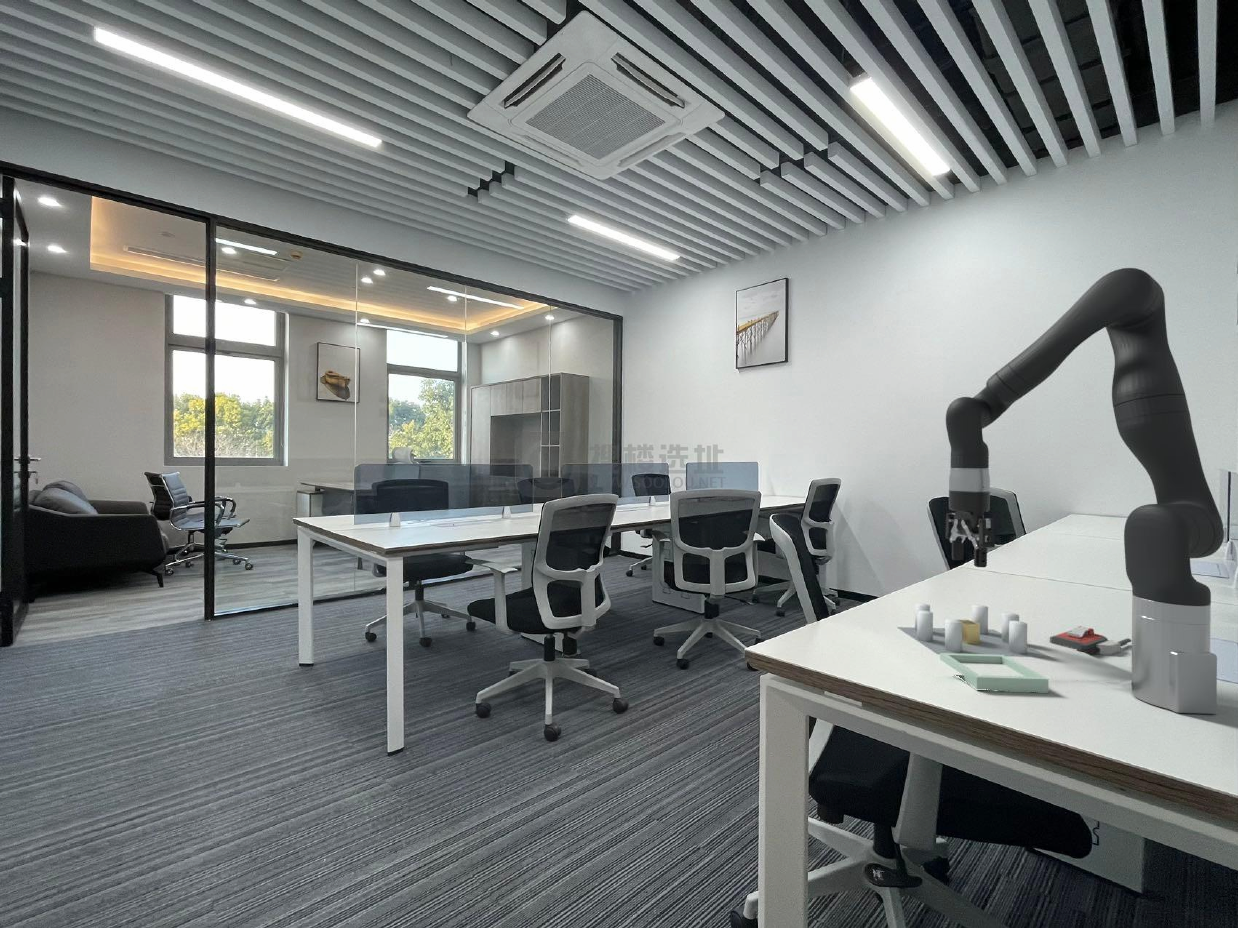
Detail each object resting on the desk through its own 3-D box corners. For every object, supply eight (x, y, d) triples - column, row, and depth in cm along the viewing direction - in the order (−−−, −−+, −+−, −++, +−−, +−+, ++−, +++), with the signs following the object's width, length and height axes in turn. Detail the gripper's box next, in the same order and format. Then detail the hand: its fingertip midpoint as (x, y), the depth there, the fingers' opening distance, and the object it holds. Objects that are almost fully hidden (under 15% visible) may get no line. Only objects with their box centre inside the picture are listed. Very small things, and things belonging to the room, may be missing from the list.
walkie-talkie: (1095, 663, 109) (1135, 647, 118) (1095, 641, 109) (1135, 627, 118) (1044, 650, 116) (1086, 636, 126) (1044, 629, 116) (1086, 617, 126)
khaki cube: (985, 644, 115) (985, 625, 115) (961, 643, 115) (961, 625, 115) (973, 637, 119) (973, 619, 119) (949, 637, 120) (949, 619, 120)
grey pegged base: (1050, 663, 108) (1050, 627, 108) (937, 659, 109) (937, 624, 109) (993, 634, 126) (993, 603, 126) (896, 632, 127) (897, 601, 127)
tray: (1048, 693, 93) (1048, 679, 93) (976, 690, 94) (976, 677, 94) (1003, 667, 105) (1003, 654, 105) (940, 665, 106) (940, 653, 106)
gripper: (1008, 491, 110) (1007, 570, 110) (968, 487, 124) (967, 558, 124) (970, 490, 111) (969, 569, 111) (934, 487, 125) (933, 557, 125)
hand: (968, 563), depth 117 cm, fingers open, 8 cm apart
